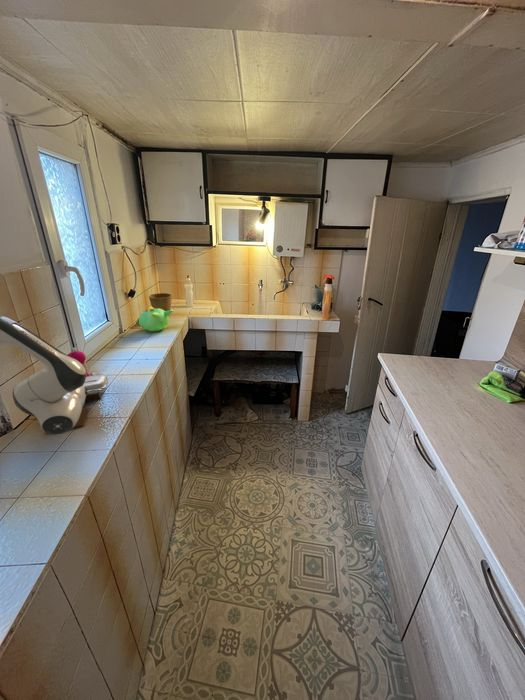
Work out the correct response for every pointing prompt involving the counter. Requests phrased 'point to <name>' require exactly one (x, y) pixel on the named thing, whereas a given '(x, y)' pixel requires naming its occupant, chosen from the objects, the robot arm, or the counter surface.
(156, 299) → the plant pot
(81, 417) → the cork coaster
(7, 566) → the counter surface
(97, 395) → the mill holder
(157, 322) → the toy bird
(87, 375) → the pepper mill
